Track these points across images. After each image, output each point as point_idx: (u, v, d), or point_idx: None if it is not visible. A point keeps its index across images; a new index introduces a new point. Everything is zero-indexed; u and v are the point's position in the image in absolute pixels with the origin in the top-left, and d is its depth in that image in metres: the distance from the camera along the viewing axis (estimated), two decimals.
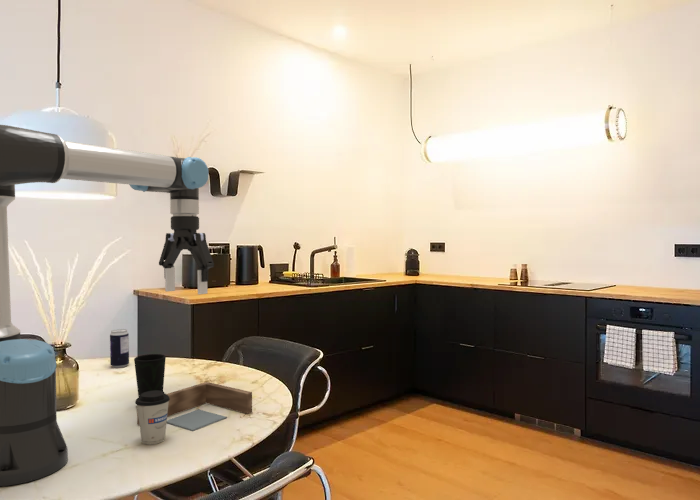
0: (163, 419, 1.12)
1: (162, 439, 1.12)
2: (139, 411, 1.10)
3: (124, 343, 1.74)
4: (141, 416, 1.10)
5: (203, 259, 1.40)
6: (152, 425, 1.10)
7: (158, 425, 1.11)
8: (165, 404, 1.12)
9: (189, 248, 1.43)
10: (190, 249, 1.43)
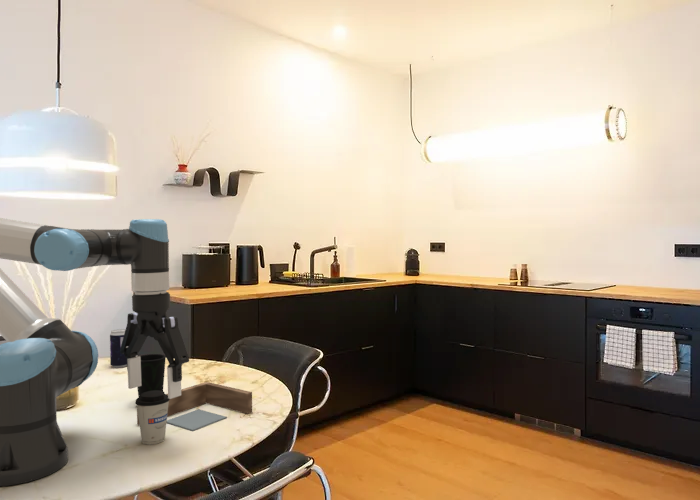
0: (163, 419, 1.12)
1: (162, 439, 1.12)
2: (139, 411, 1.10)
3: None
4: (141, 416, 1.10)
5: (174, 353, 1.06)
6: (152, 425, 1.10)
7: (158, 425, 1.11)
8: (165, 404, 1.12)
9: (157, 337, 1.09)
10: (158, 338, 1.09)
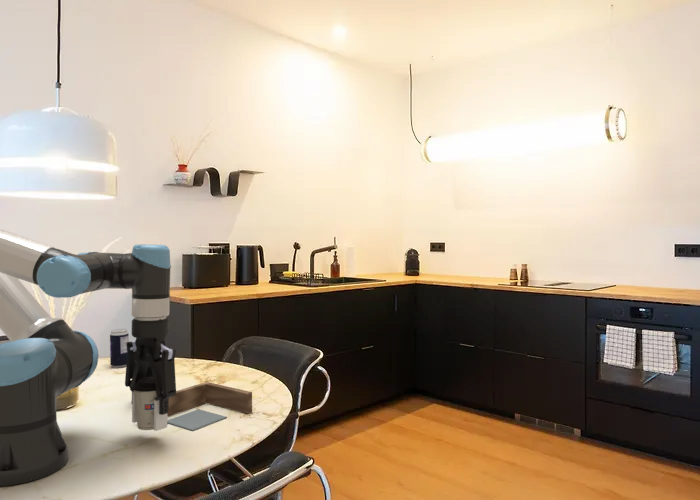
0: None
1: None
2: (136, 396, 1.10)
3: (124, 343, 1.74)
4: (138, 401, 1.10)
5: (163, 386, 1.08)
6: (148, 411, 1.10)
7: None
8: None
9: (151, 366, 1.09)
10: (152, 367, 1.10)
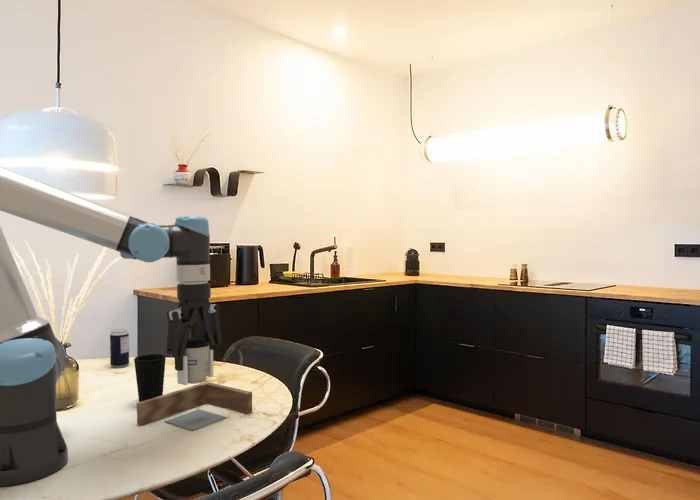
0: (187, 363, 1.22)
1: (190, 381, 1.22)
2: None
3: (124, 343, 1.74)
4: None
5: None
6: None
7: None
8: (187, 350, 1.21)
9: None
10: None
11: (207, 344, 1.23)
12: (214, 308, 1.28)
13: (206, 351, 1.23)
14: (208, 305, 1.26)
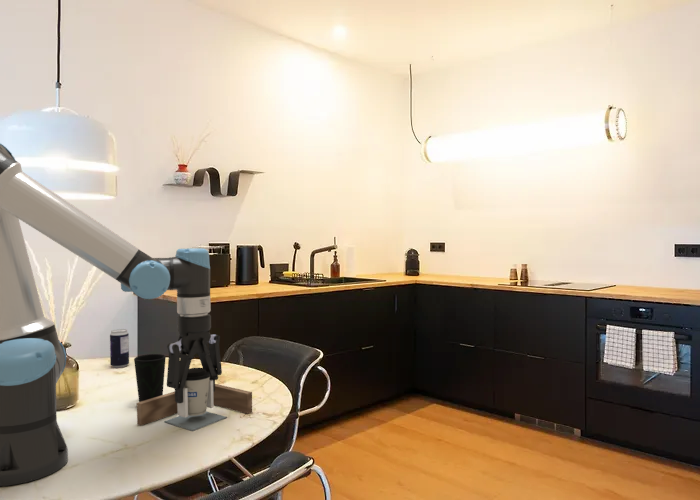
0: None
1: (190, 413, 1.22)
2: None
3: (124, 343, 1.74)
4: None
5: None
6: None
7: None
8: (187, 382, 1.21)
9: None
10: None
11: (207, 376, 1.23)
12: (214, 339, 1.28)
13: (206, 383, 1.23)
14: (208, 336, 1.26)
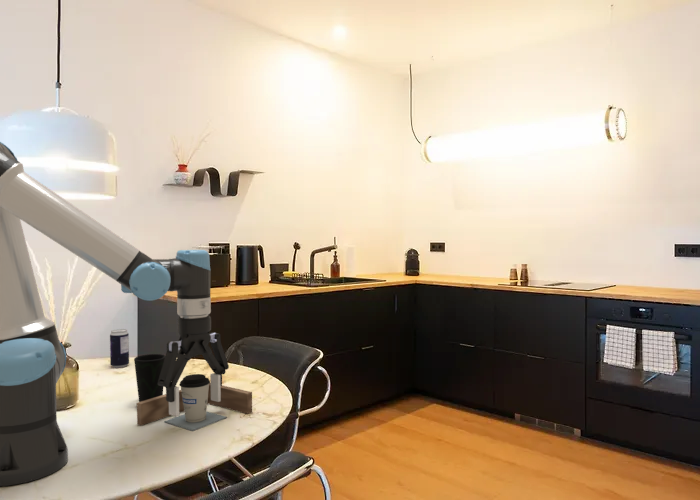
0: (187, 402, 1.22)
1: (189, 420, 1.22)
2: None
3: (124, 343, 1.74)
4: None
5: None
6: (183, 403, 1.24)
7: (184, 405, 1.23)
8: (186, 389, 1.21)
9: None
10: None
11: (207, 383, 1.23)
12: (215, 337, 1.28)
13: (206, 389, 1.23)
14: (208, 338, 1.26)
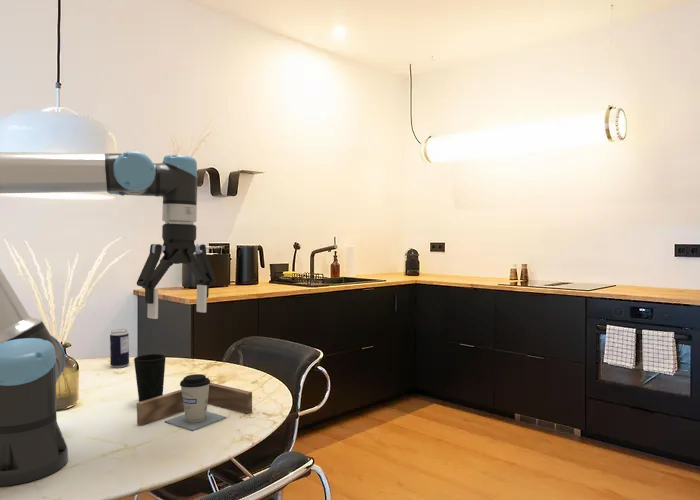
0: (187, 402, 1.22)
1: (189, 420, 1.23)
2: None
3: (124, 343, 1.74)
4: None
5: None
6: (183, 403, 1.24)
7: (184, 405, 1.23)
8: (187, 389, 1.21)
9: None
10: None
11: (207, 382, 1.23)
12: (200, 248, 1.27)
13: (206, 389, 1.23)
14: (193, 248, 1.25)
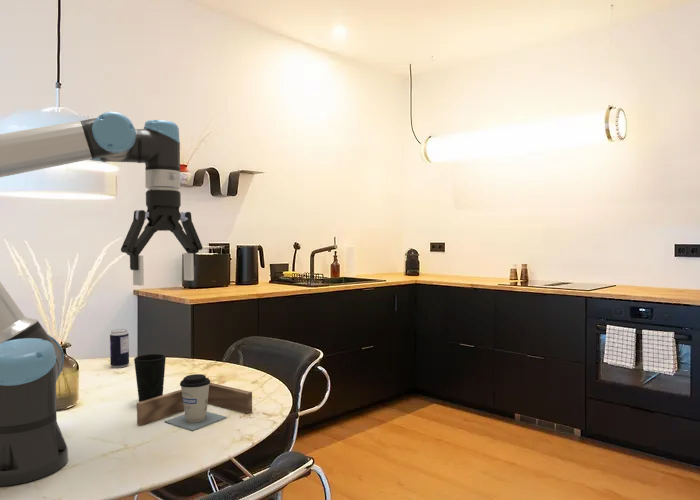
0: (187, 402, 1.22)
1: (189, 420, 1.23)
2: None
3: (124, 343, 1.74)
4: None
5: None
6: (183, 403, 1.24)
7: (184, 405, 1.23)
8: (187, 389, 1.21)
9: None
10: None
11: (207, 382, 1.23)
12: (185, 216, 1.25)
13: (206, 389, 1.23)
14: (178, 215, 1.23)
